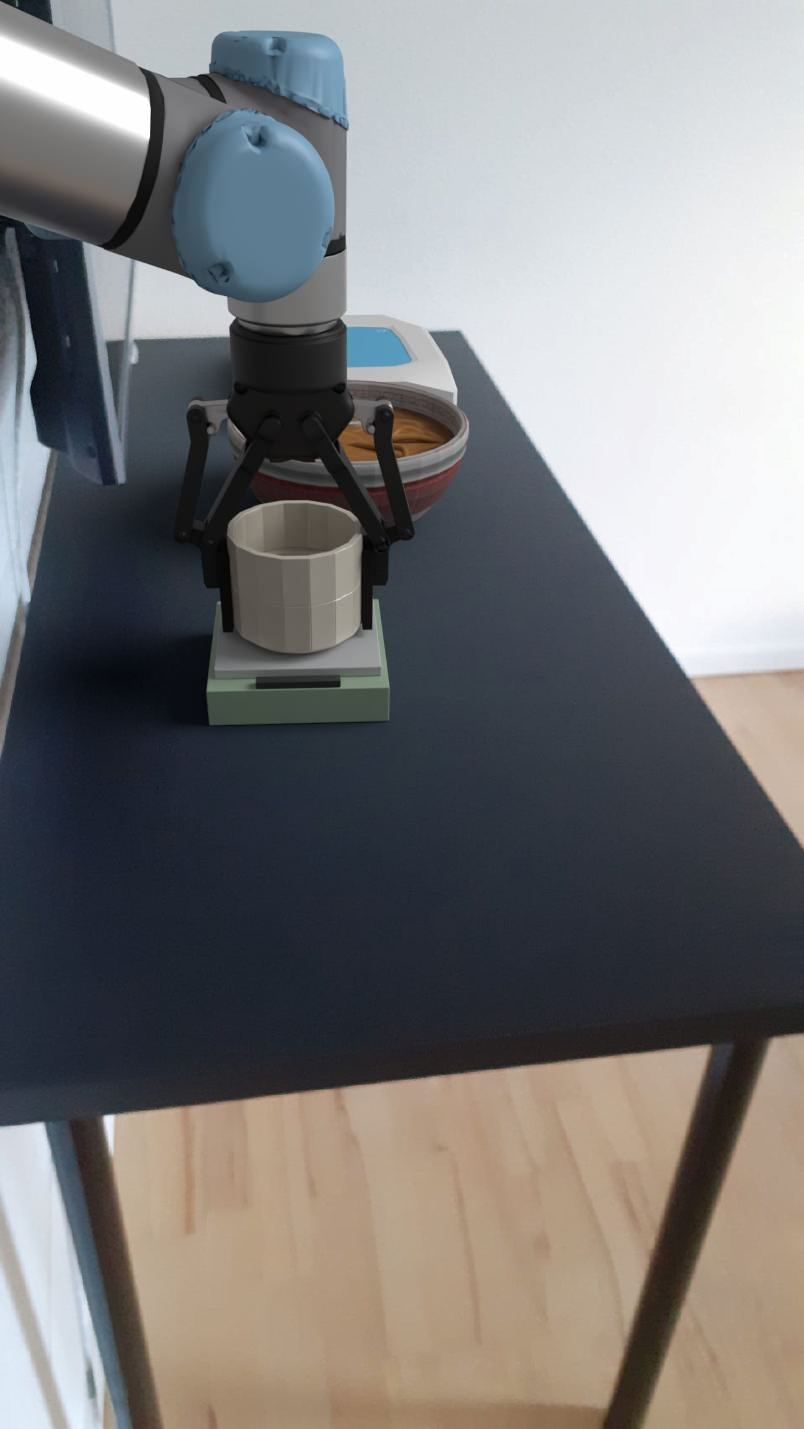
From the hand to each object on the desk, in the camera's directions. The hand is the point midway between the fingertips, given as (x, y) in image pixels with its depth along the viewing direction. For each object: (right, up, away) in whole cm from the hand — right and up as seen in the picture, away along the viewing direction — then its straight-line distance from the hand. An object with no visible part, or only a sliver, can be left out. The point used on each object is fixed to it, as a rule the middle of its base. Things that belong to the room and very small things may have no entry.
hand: (298, 622), depth 82 cm
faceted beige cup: (0, 0, 0) cm, 0 cm away
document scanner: (+2, +33, +56) cm, 65 cm away
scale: (0, -4, +2) cm, 4 cm away
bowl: (+3, +13, +26) cm, 29 cm away
